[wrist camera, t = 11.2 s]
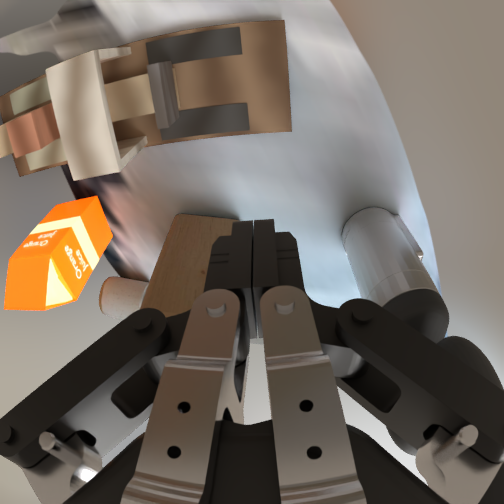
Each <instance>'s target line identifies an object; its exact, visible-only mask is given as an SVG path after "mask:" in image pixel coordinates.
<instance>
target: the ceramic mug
mask: <svg viewBox="0 0 504 504" xmlns="http://www.w3.org/2000/svg"><path fill="white" fill-rule="evenodd" d="M148 285H149V282H143V281H138V280H132V279H126V278H121V277H109V278H107V279H106V280H105V281H104V283H103V285H102V287H101V291H100V295H99V306H100V309H101V311H102V313H103V314H105V315H107V316H109V317H111V318H115V319H119V320H122V321H123V320H124V319H125V318H127V317H128V316H129V315H130V314H132V313H133V312H135V311H137V310H140V307H141V304H142V301H143V298H144V296H145V293H146V290H147V287H148Z"/></svg>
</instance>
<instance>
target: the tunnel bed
mask: <svg viewBox="0 0 504 504" xmlns="http://www.w3.org/2000/svg"><path fill="white" fill-rule="evenodd" d="M165 61H171V62H172V68H175V75H176V81H177V88H178V95H179V101H180V108H179V115H180V117H179V118H178V119H177V120H176V121H175V122H174V123H173V124H172V125H171V126H170V127H169V128H163V129H158V127H157V122H156V117H155V113H152V114H147V115H142V116H137V117H133V118H128V119H124V120H119V121H115V122H112V120H111V116H110V111H109V106H108V101H107V96H106V91H105V86H104V85H105V84H109V83H112V82H116V81H119V80H123V79H127V78H131V77H135V76H139V75H143V74H148V70H147V65H151V64H155V63H160V62H165ZM50 103H52V105H53V109H54V113H55V118H56V122H57V126H58V129H59V133H60V137H59V138H58V139H56V140H54V141H53V142H51V143H50V144H48V145H47V146H45V147H44V148H42V149H40V150H37V151H34V152H32V153H29V154H26V155H23V156H20V157H17V158H15V155H14V153H12V155H13V158H14V161H15V164H16V168H17V170H18V173H19V176H20V177H21V176H24V175H28V174H31V173H34V172H38V171H41V170H45V169H49V168H52V167H56V166H60V165H64V164H68V165H69V168H70V171H71V174H72V177H73V180H74V181H75V180H80V179H85V178H90V177H95V176H100V175H105V174H111V173H116V172H120V171H121V170H122V169H123V168H124V167H125V166H126V165H127V164H128V162H129V161H130V160H131V159H132V158H133V157H134V156H135V155H136V154H137V153H138V152H139V151H140V150H141V149H142V148H143V147H149V146H155V145H161V144H167V143H174V142H181V141H189V140H196V139H205V138H213V137H223V136H233V135H245V134H258V133H273V132H292V127H291V107H290V89H289V73H288V59H287V45H286V33H285V21H284V20H274V21H255V22H243V23H233V24H224V25H216V26H209V27H202V28H196V29H190V30H184V31H179V32H174V33H169V34H165V35H160V36H156V37H151V38H147V39H143V40H140V41H136V42H132V43H128V44H125V45H122V46H118V47H115V48H108V49H98V50H92V51H89V52H86V53H84V54H81V55H78V56H76V57H73V58H71V59H68V60H66V61H63V62H61V63H59V64H57V65H54V66H52V67H50V68H47V69H46V74H44V75H42V76H39V77H37V78H35V79H33V80H31V81H29V82H27V83H25V84H23V85H21V86H19V87H17V88H15V89H13V90H11V91H9V92H8V93H6V94H4V95H3V96H0V112H1V116H2V120H3V124H4V123H6V122H8V121H10V120H13V119H15V118H17V117H19V116H21V115H24V114H26V113H28V112H30V111H33V110H35V109H37V108H40V107H42V106H45V105H47V104H50Z"/></svg>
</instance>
